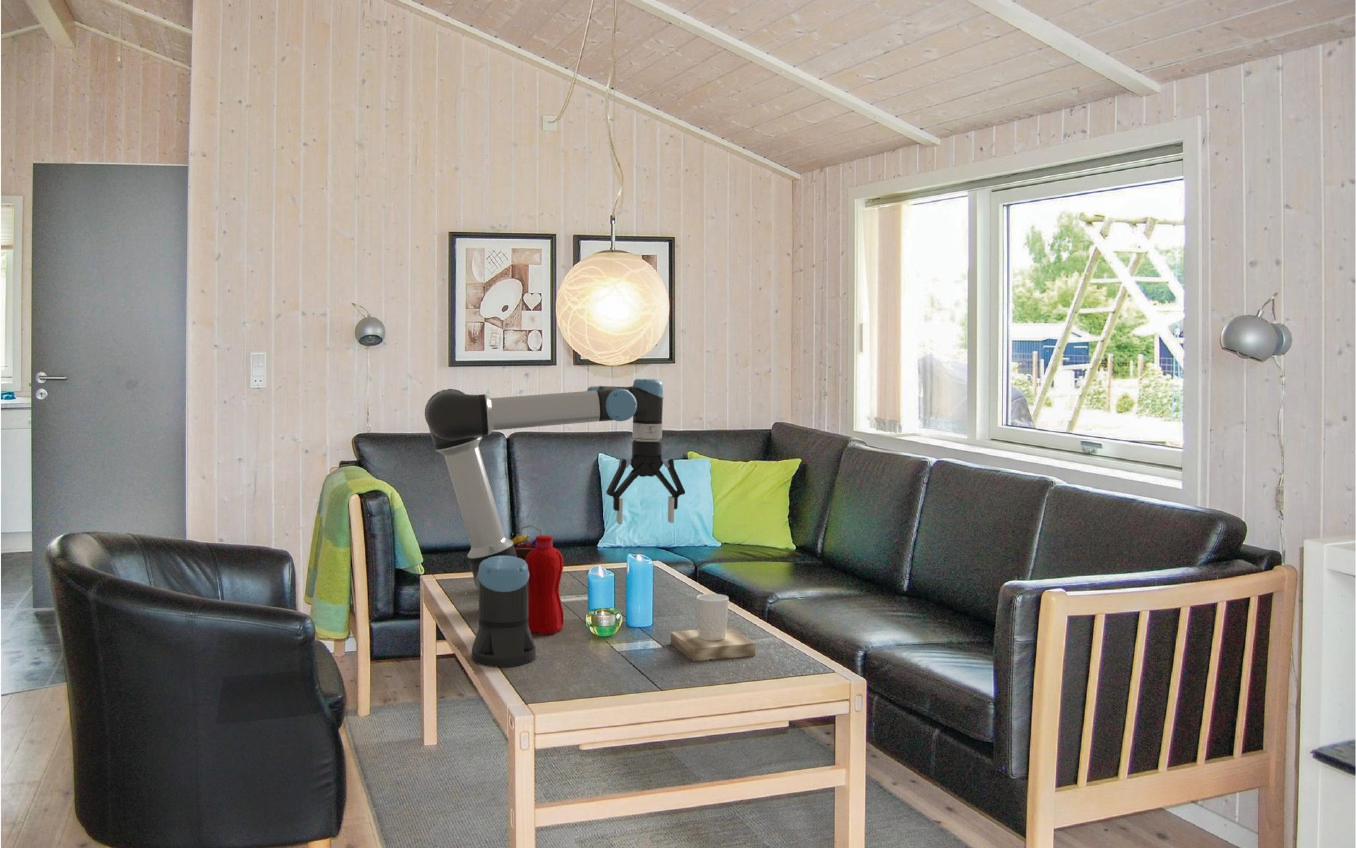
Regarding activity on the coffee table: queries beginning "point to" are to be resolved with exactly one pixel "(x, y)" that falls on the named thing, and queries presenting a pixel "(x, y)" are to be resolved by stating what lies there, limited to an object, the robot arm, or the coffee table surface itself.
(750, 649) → the wooden base
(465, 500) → the robot arm
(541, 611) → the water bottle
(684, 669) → the coffee table surface
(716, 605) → the white cup
